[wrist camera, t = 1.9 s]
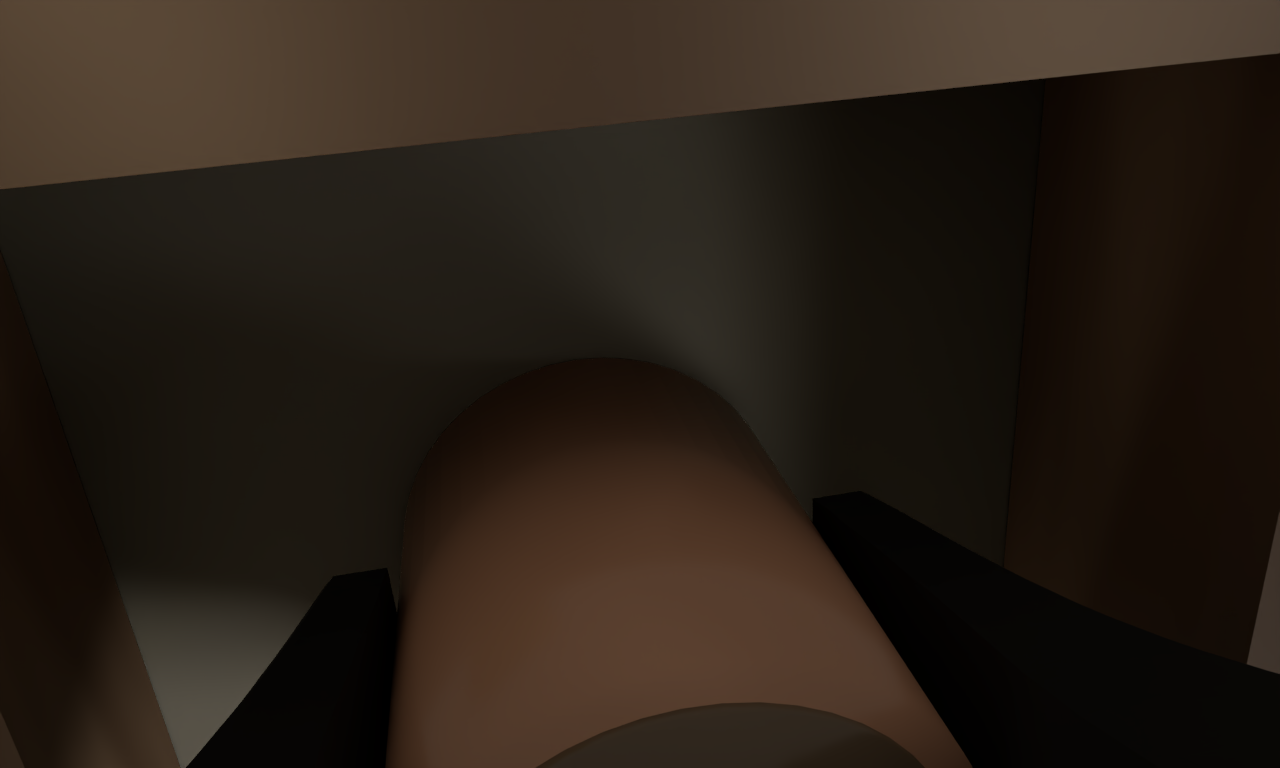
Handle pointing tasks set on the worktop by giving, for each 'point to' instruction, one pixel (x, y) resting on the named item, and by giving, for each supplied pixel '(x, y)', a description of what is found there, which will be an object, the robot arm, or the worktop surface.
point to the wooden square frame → (696, 85)
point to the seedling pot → (633, 595)
